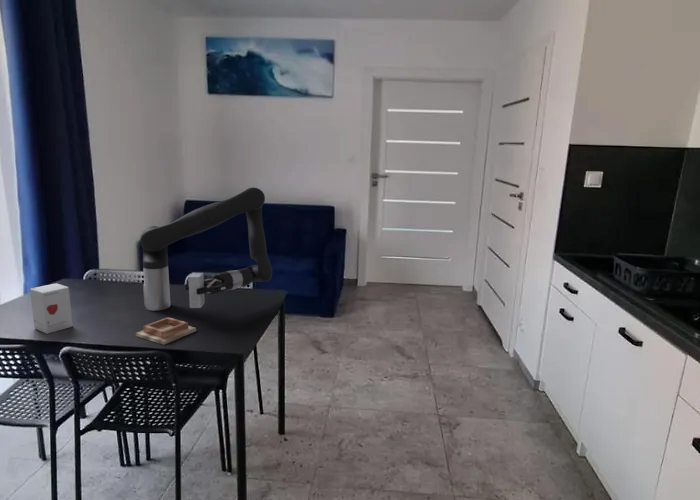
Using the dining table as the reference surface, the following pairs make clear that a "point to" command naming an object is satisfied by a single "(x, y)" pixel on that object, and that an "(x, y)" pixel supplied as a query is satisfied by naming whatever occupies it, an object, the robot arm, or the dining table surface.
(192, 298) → the skincare box
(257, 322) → the dining table surface
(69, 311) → the supplement box
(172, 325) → the serum stand
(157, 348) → the dining table surface
